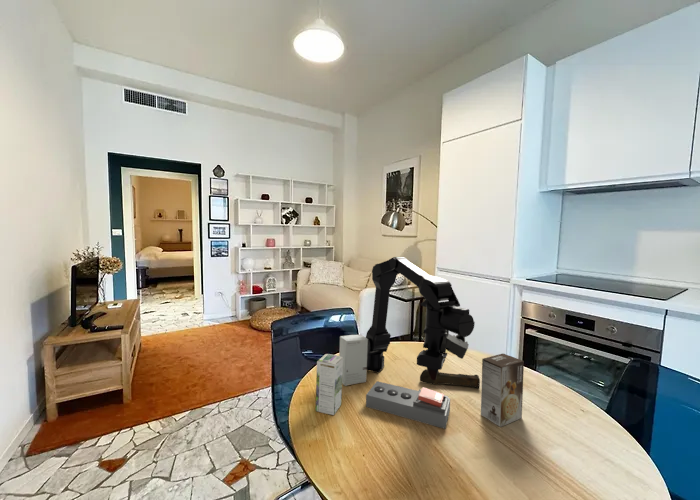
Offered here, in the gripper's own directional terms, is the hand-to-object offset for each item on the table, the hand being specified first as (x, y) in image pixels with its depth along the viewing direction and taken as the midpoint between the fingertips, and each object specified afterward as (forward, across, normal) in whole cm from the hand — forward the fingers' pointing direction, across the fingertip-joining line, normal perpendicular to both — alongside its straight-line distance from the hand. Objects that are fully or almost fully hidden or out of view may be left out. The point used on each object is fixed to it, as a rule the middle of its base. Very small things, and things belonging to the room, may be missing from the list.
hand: (433, 379), depth 84 cm
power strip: (+9, -2, +6) cm, 11 cm away
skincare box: (+10, +6, +28) cm, 30 cm away
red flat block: (+4, -2, 0) cm, 5 cm away
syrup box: (+9, -12, +26) cm, 31 cm away
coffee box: (+9, +6, -17) cm, 20 cm away
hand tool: (+10, +18, -2) cm, 20 cm away
